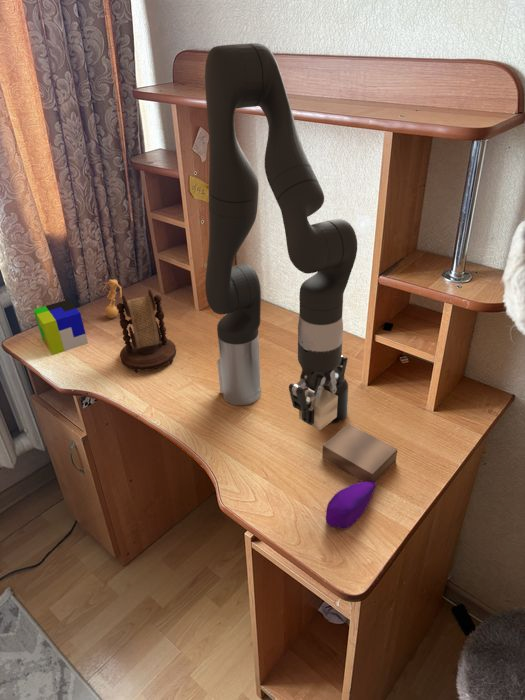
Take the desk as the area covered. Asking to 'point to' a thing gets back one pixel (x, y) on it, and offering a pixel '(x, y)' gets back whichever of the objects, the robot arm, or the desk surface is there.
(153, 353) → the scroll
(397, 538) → the desk surface
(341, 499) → the purple teardrop shape
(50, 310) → the puzzle toy
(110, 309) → the figurine
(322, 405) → the oak cube
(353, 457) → the walnut slab
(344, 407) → the supplement bottle
